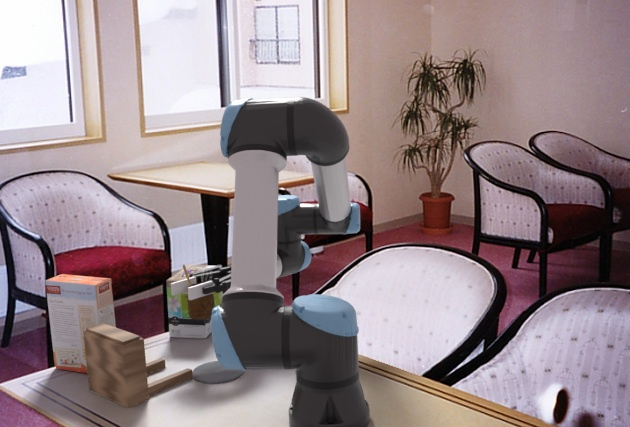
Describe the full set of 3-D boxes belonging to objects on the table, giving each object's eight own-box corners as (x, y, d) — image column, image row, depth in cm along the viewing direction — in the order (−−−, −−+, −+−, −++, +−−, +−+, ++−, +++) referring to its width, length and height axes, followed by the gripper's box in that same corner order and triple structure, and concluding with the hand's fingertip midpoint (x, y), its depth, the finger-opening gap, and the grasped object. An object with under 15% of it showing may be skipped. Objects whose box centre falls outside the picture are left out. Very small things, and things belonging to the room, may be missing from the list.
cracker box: (121, 367, 182) (112, 277, 178) (103, 377, 177) (94, 285, 172) (72, 359, 188) (62, 272, 184) (54, 369, 183) (43, 279, 178)
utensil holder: (214, 319, 179) (209, 267, 176) (185, 321, 179) (180, 268, 177) (217, 311, 185) (213, 260, 182) (189, 312, 185) (185, 261, 182)
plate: (254, 370, 177) (253, 368, 177) (215, 387, 169) (215, 385, 169) (220, 359, 184) (220, 356, 184) (182, 375, 176) (181, 372, 176)
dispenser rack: (197, 379, 174) (192, 318, 171) (128, 408, 161) (122, 343, 158) (157, 364, 183) (152, 306, 180) (89, 390, 170) (82, 328, 168)
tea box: (207, 339, 197) (203, 280, 194) (168, 338, 199) (163, 280, 196) (226, 318, 211) (222, 263, 208) (189, 317, 213) (185, 263, 210)
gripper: (286, 289, 188) (208, 316, 171) (233, 277, 200) (156, 300, 183) (284, 258, 186) (206, 281, 170) (231, 247, 199) (153, 268, 182)
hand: (180, 291), depth 177 cm, fingers closed on utensil holder, 5 cm apart
